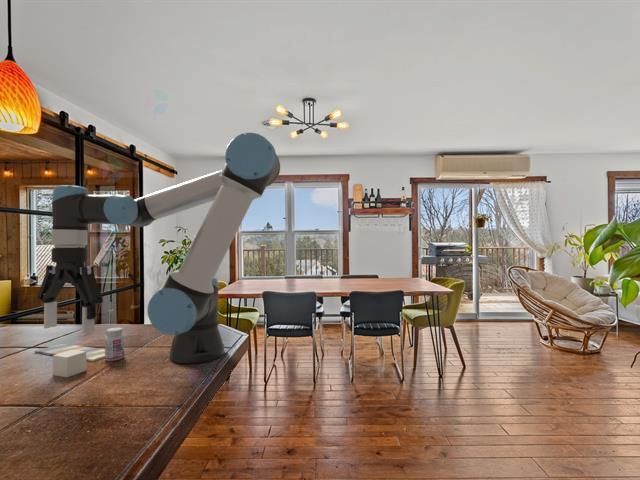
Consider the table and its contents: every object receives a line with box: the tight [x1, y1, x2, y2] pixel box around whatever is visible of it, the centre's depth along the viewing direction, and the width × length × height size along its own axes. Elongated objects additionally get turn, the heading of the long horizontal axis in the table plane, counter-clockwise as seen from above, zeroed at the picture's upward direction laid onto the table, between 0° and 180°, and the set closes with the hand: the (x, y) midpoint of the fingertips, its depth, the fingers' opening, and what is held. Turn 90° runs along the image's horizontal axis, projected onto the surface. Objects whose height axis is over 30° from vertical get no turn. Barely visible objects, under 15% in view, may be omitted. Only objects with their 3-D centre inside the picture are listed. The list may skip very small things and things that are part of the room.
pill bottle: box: [104, 327, 125, 362], centre depth 102 cm, size 5×5×8 cm
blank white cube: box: [52, 350, 87, 378], centre depth 91 cm, size 5×5×5 cm
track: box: [34, 343, 105, 362], centre depth 107 cm, size 24×8×1 cm, turn 71°
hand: (68, 329), depth 91 cm, fingers open, 13 cm apart
